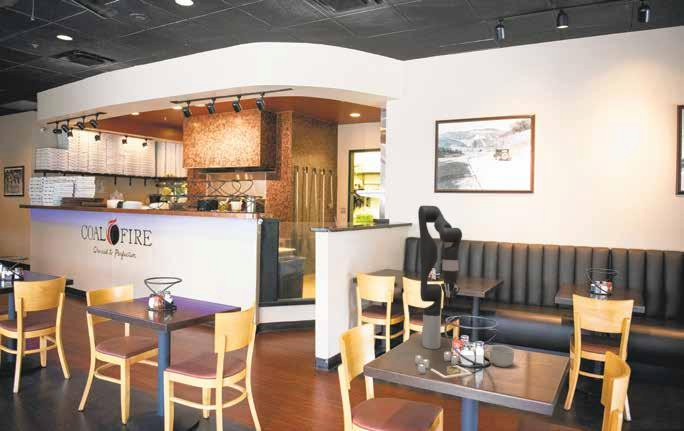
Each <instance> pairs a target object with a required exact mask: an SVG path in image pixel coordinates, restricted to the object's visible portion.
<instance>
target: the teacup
mask: <svg viewBox="0 0 684 431" xmlns="http://www.w3.org/2000/svg"><path fill="white" fill-rule="evenodd" d="M489 348H490V349H489ZM489 348H487V349H484V352H483V354H484V357H485V358H486V359H488V360H489V362H492V363H493V364H494V365H495V366H496V367H501V368H508V367H510V366H511V365H512V364H513V363H514V357H515V354H514V353H515V350H514V349H515V348H512V347H510V346H507V345H502V344H494V345H491V346H490V347H489ZM488 352H489V353H490V356H488V354H487V353H488Z"/></svg>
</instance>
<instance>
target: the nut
mask: <svg viewBox="0 0 684 431" xmlns="http://www.w3.org/2000/svg"><path fill="white" fill-rule="evenodd" d="M446 373H447V375H455V374H460V369H459V368H458V367H456V366H455V365H448V366H446Z"/></svg>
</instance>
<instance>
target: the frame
mask: <svg viewBox="0 0 684 431" xmlns="http://www.w3.org/2000/svg"><path fill="white" fill-rule="evenodd" d="M454 366H456V367H458V368H459V371H462V372H463V373H459V374H455V375H451V374H448V375H444V374H442V373H441V372H439V371H437V370H435V369H434V368H429V369H430V372H433V373H434V374H436V375H438V376H440V377H441V378H442V379H444V380H445V378H446V379H450V378H458V377H464V376H470V375H473V373H472V372H471V371H469V370H467V369H465V368H464V367H461V366H460V365H459V364H458V365H454Z"/></svg>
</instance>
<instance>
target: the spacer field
mask: <svg viewBox="0 0 684 431" xmlns="http://www.w3.org/2000/svg"><path fill="white" fill-rule="evenodd" d="M414 357H415V359H414V360H415V361H414V364H415V365H416V366H418V368H417V372H418V373H417V374H418V375H421V374H422V375H423V374H424V375H426V370H429V369H430V359H429V358H423V355H421V354H416V355H415V356H414ZM457 361H458V356H455V355H453V354H452V352H451V351H448V350H446V351H443V362H450V363H451V366H455V365H456V364H457ZM422 375H421V376H422Z"/></svg>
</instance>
